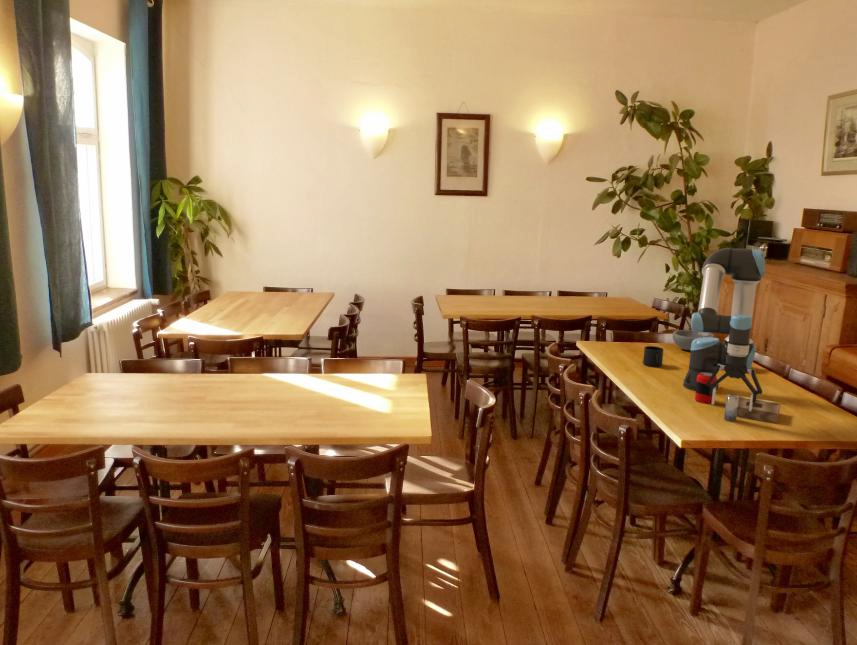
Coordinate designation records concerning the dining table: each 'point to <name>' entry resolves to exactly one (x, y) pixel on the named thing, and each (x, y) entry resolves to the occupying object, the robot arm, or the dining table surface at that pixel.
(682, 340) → the bowl
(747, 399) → the jig
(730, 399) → the bushing
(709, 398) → the soda can
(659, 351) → the mug
